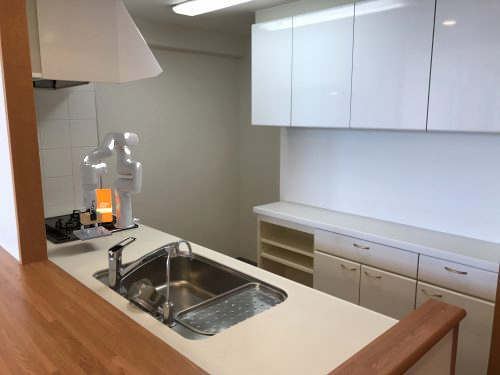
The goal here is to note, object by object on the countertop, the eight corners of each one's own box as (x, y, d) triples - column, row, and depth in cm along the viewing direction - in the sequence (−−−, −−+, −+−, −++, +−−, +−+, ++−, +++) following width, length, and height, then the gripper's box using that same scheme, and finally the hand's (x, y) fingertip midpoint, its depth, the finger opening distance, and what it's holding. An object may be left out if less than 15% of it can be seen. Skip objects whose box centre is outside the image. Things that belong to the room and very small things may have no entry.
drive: (98, 219, 230) (98, 210, 229) (102, 222, 225) (102, 213, 224) (80, 222, 224) (80, 213, 223) (84, 225, 219) (83, 215, 218)
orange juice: (97, 219, 260) (96, 188, 257) (112, 218, 263) (110, 187, 259) (97, 222, 253) (95, 190, 249) (112, 221, 256) (110, 190, 252)
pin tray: (101, 228, 237) (101, 221, 236) (112, 235, 225) (112, 227, 224) (73, 233, 227) (72, 225, 226) (82, 240, 215) (81, 233, 214)
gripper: (77, 185, 225) (79, 216, 228) (87, 190, 212) (89, 223, 215) (91, 183, 230) (93, 214, 233) (102, 188, 217) (104, 221, 220)
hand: (91, 218), depth 224 cm, fingers closed on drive, 6 cm apart
